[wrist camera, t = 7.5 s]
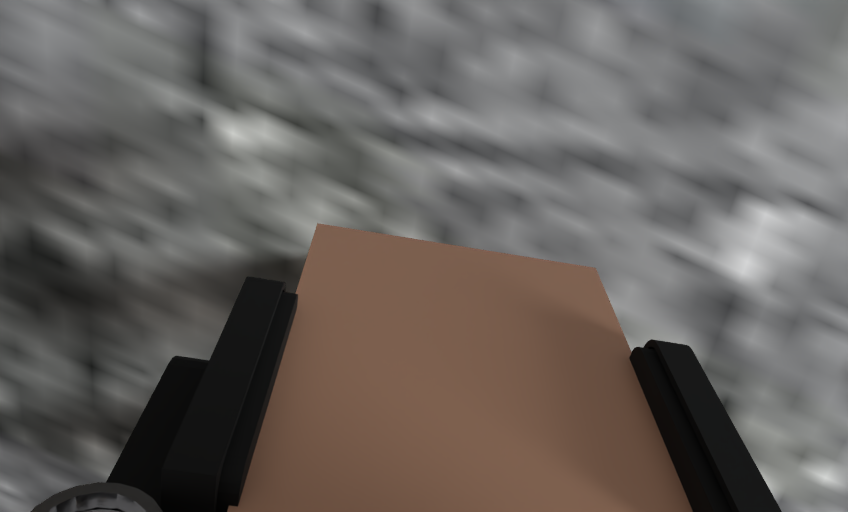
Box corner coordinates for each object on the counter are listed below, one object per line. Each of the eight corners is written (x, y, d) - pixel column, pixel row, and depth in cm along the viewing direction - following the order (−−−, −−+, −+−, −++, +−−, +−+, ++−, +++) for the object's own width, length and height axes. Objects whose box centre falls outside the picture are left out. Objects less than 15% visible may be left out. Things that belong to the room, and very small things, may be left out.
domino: (564, 368, 15) (780, 1149, 6) (304, 329, 14) (97, 1099, 5) (595, 267, 14) (916, 1019, 5) (317, 223, 13) (90, 947, 4)
